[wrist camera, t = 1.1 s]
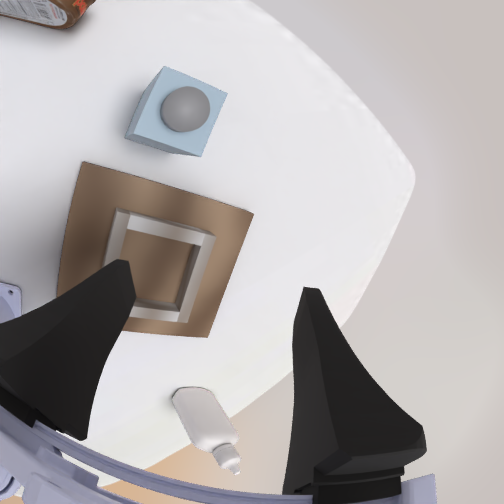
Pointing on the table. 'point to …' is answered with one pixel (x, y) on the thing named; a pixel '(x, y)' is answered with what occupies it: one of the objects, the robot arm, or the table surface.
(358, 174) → the table surface
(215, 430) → the eye dropper bottle
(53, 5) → the tin
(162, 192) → the dock
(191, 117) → the peg
